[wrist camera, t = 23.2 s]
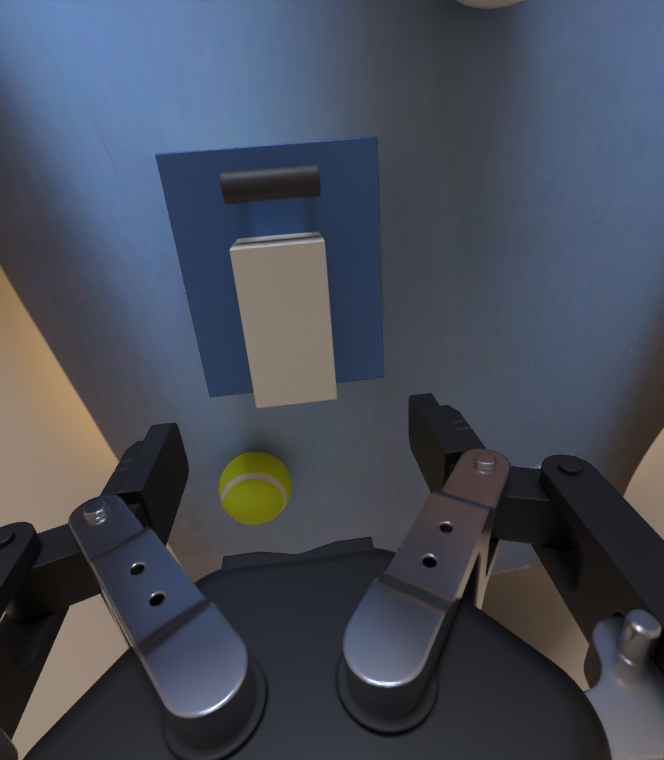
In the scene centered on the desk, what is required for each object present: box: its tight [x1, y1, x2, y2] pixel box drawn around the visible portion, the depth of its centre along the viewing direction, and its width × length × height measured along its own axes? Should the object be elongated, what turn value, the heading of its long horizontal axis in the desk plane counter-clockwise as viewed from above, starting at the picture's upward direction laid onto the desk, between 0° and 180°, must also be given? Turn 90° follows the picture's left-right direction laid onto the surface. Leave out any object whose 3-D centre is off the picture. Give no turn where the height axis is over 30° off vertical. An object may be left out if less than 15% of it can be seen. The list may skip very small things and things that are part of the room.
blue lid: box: [156, 136, 384, 397], centre depth 26 cm, size 15×13×5 cm
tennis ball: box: [219, 451, 292, 525], centre depth 40 cm, size 7×7×7 cm
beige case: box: [229, 232, 337, 408], centre depth 27 cm, size 10×5×4 cm, turn 4°
